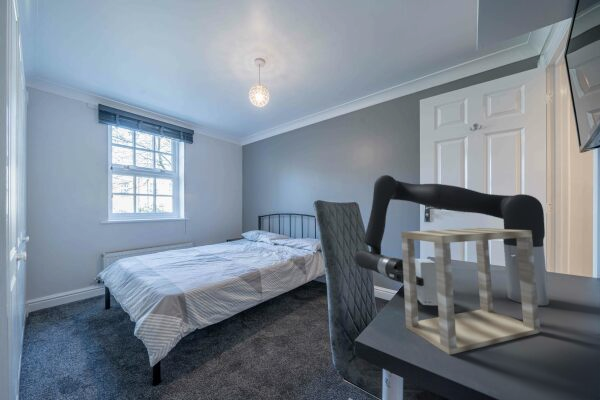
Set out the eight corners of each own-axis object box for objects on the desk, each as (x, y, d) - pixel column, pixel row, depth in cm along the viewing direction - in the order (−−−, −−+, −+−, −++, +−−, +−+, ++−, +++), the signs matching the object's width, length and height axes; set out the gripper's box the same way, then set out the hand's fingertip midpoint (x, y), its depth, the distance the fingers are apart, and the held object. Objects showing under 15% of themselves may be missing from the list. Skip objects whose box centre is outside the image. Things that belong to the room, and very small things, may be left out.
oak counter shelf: (486, 312, 65) (479, 228, 67) (540, 332, 54) (531, 230, 55) (406, 327, 58) (401, 232, 59) (449, 354, 46) (441, 235, 48)
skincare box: (438, 306, 65) (436, 262, 66) (422, 305, 66) (420, 262, 67) (431, 298, 71) (429, 258, 72) (416, 297, 72) (414, 258, 73)
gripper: (375, 259, 81) (411, 270, 65) (409, 256, 85) (451, 265, 69) (376, 281, 80) (412, 297, 64) (410, 277, 84) (452, 291, 68)
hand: (432, 281), depth 67 cm, fingers closed on skincare box, 6 cm apart
